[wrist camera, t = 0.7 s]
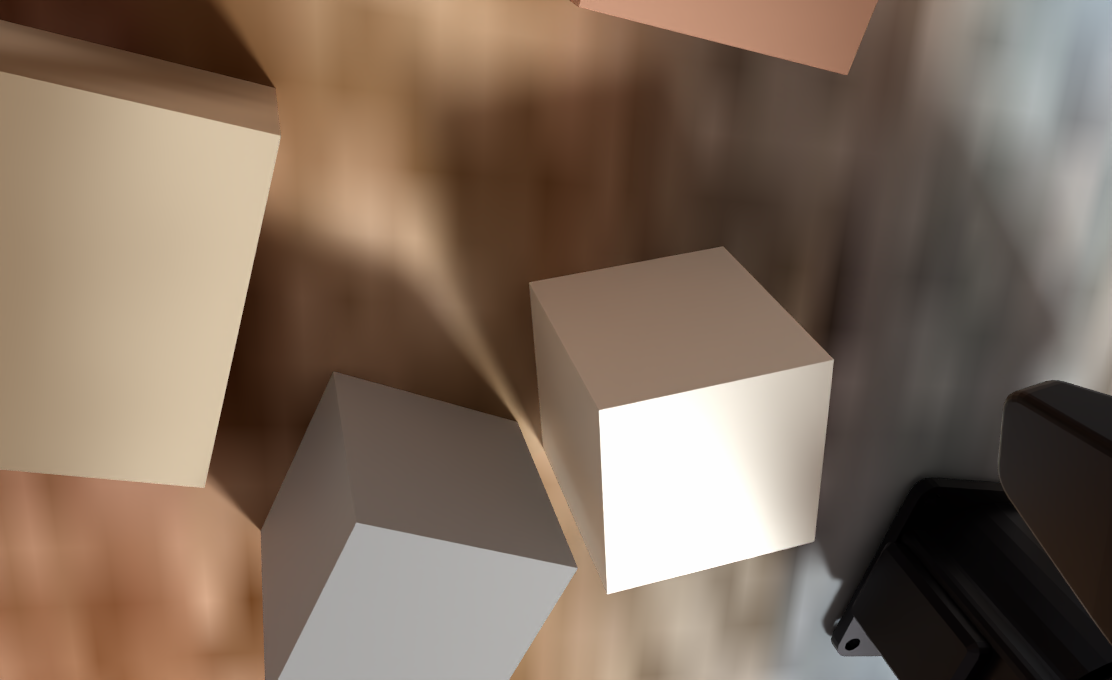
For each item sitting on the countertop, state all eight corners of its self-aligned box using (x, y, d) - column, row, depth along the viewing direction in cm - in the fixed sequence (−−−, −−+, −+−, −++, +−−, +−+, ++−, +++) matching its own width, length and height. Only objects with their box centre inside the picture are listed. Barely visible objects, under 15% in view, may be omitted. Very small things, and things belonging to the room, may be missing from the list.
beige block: (274, 82, 18) (281, 135, 15) (207, 399, 21) (204, 487, 18) (-186, -33, 15) (-268, 9, 13) (-190, 350, 18) (-257, 446, 16)
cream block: (722, 245, 22) (833, 359, 18) (716, 407, 24) (814, 541, 20) (528, 281, 21) (598, 410, 17) (542, 445, 24) (607, 594, 19)
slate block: (516, 420, 23) (577, 568, 19) (438, 562, 25) (479, 728, 20) (332, 369, 21) (356, 522, 17) (261, 529, 23) (265, 704, 18)
